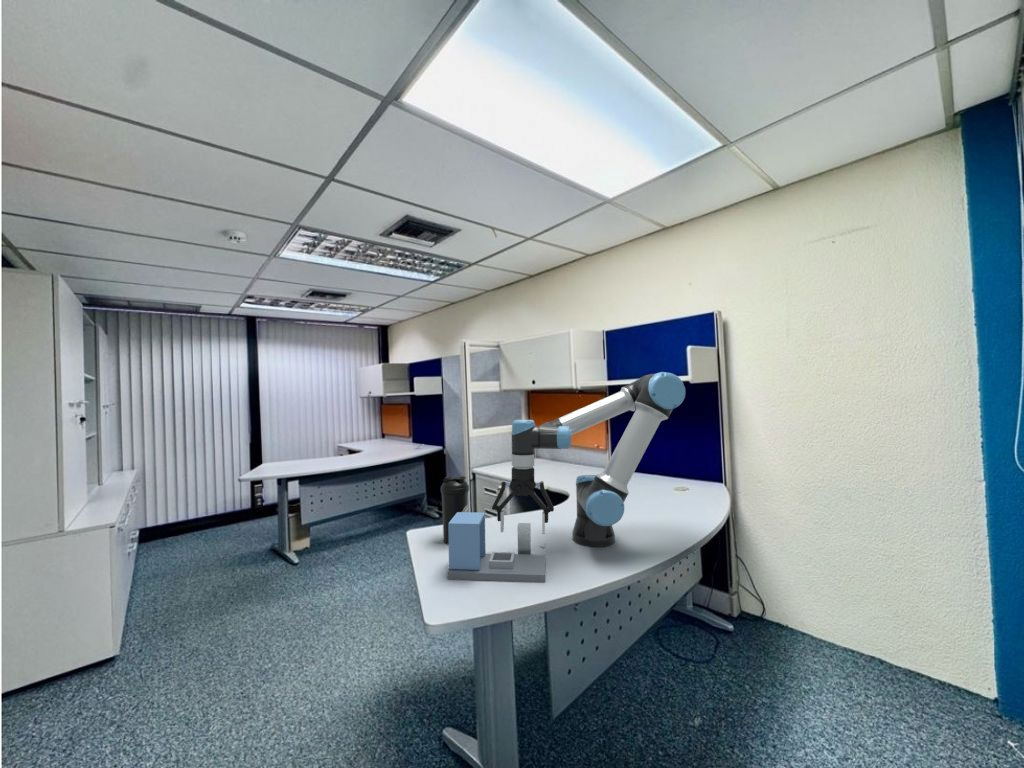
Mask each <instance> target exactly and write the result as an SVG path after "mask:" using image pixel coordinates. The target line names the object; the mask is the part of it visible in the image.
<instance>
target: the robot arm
mask: <svg viewBox="0 0 1024 768" xmlns="http://www.w3.org/2000/svg"><path fill="white" fill-rule="evenodd" d="M685 398H686V387H685V385H684V382H683V380H682V379H681V378H680V377H679V376H677V374H674V373H671V372H665V371H660V372H657V373H649V374H645V375H643V376H641V377H639V378H638V379H636V380H634V381H632V382H631V383H628V384H627V385H626V384H625V385H624V386H622V387H621V388H620V391H618V392H615V393H613V394H611V395H609V396H607V397H603V398H601V399H599V400H597V401H595V402H591V404H588V405H586V406H583V407H582V408H578V409H576V410H574V411H572V412H569V413H567V414H564V415H563V416H561V417H558V418H555V419H554V420H551V421H548V422H544V423H543V424H541V425H536V424H535V421H534V420H533V419H515V420H513V422H512V423H511V466H512V467H511V481H507V480H503V481H502V482H501V489H500V490H499V493H498V494H497V497H496V498H495V500H494V502H493V504H492V506H491V509H492V510H494V511H496V512H497V514H496V515H497V516H496V517H497V522H500V533H504V530H505V526H504V524H505V510H504V508H505V506H506V505H507V504H508V503H510V501H511V500H512V499H513V497H514V496H515V495H516V496H518V497H521V496H524V497H528V496H530V497H531V498H532V499H533V501H535V502H536V504H537V505H538V506H539V508H541V510H542V513H541V514H542V520H541V521H542V523H541V524H542V526H541V528H542V529H541V531H542V533H541V534H542V535H546V534H545V533H546V531H545V529H546V528H545V527H546V524H548V523H549V514H550V512H552V513H553V512H554V511H555V507H554V505H553V503H552V501H551V499H550V496H549V494H548V491H546V489H545V483H544V481H542V480H541V481H537V482H536V481H535V468H534V467H535V449H536V450H540V449H542V450H546V449H547V450H549V449H550V450H565V449H566V450H567V449H569V448H570V447H571V444H572V436H573V435H575V434H579V432H583V431H584V430H587V429H589V428H592V427H593V426H596V425H598V424H601V423H603V422H605V421H607V420H610V419H612V418H615V417H617V416H619V415H621V414H623V413H626V412H629V411H630V412H634V413H633V415H632V417H631V419H630V420H629V422H628V424H627V426H626V428H625V430H624V432H623V434H622V436H621V438H620V440H619V441H618V443H617V445H616V447H615V448H614V451H613V453H612V455H611V456H610V458H609V460H608V462H607V464H606V466H605V468H604V470H603V471H602V472H601V473H597V474H585V475H584V474H582V475H578V476H577V477H576V480H575V491H576V519H575V522H574V526H573V529H572V532H571V533H572V536H571V538H572V541H574V542H575V543H576V544H579V545H581V546H587V547H594V548H596V547H597V548H599V547H607V546H610V545H613V544H614V543H615V542H616V535H615V530H614V527H613V525H615V524H617V523H619V521H621V520H622V518H623V517H624V514H625V501H626V499H627V497H628V496H629V493H630V492H629V490H628V485H629V482H630V481H631V479H632V476H633V475H634V473H635V471H636V470H637V467H638V465H639V464H640V462H641V460H642V458H643V456H644V454H645V453H646V450H647V448H648V446H649V445H650V442H651V441H652V439H653V438H654V435H655V434H656V431H657V429H658V428H659V426H660V424H661V422H662V421H665V420H668V419H669V418H670V415H671V413H672V412H673V410H674V409H676V408H678V407H679V406H680V405H681V404H682V403H683V401H684V400H685ZM509 486H510V488H511V489H512V490H511V491H510V493H509V494H508V495H507V496H506V498H505V499H503V501H502V502H501V503H500V505H499V502H500V500H501V498H502V496H503V494H504V492H505V490H506V489H508V488H509ZM536 487H537V488H538V490H540V492H541V494H542V497H543V498H544V500H545V503H546V504H545V503H544V502H543V501H542V499H541V498H540V497H539V496H538V494H536V491H535V488H536Z"/></svg>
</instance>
